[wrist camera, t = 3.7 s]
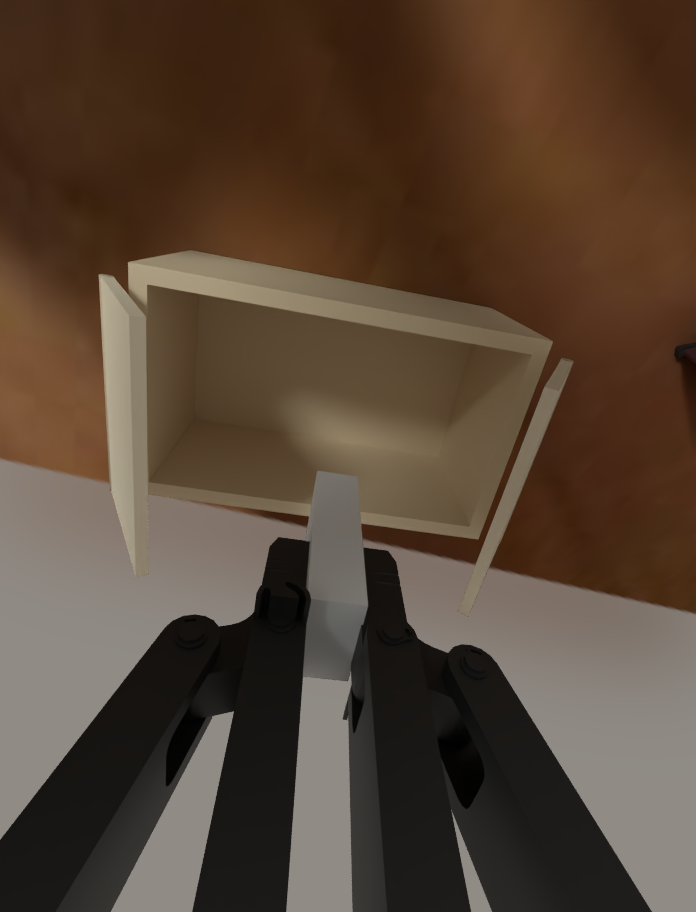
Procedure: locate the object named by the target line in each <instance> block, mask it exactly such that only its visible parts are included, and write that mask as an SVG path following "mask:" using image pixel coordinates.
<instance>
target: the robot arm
mask: <svg viewBox="0 0 696 912" xmlns="http://www.w3.org/2000/svg"><path fill="white" fill-rule="evenodd" d="M350 672H351V677H352V678H351V679H352V686H351V689H350V693H349V697H348V700H347V704H346V707H345V711H344V716H343V719H344V720H347V718H348V721H349V765H350V808H351V809H350V812H351V852H352V853H351V855H352V902H353V912H471V909H470V904H469V899H468V894H467V889H466V883H465V878H464V873H463V868H462V863H461V858H460V853H459V848H458V843H457V837H456V832H455V827H454V822H453V817H452V812H453V815H454V817H455V819H456V822H457V825H458V827H459V829H460V832H461V835H462V837H463V840H464V842H465V845H466V847H467V850H468V852H469V855H470V857H471V860H472V862H473V865H474V867H475V870H476V872H477V875H478V877H479V880H480V882H481V884H482V887H483V890H484V892H485V895H486V897H487V900H488V902H489V905H490V907H491V910H492V912H652V911H651V910H650V908H649V907H648V905H647V903H646V902H645V900H644V899H643V897H642V895H641V894H640V892H639V891H638V889H637V888H636V886H635V884H634V883H633V881H632V879H631V878H630V876H629V874H628V873H627V871H626V870H625V868H624V867H623V865H622V863H621V862H620V860H619V859H618V857H617V855H616V854H615V852H614V851H613V849H612V847H611V846H610V844H609V842H608V841H607V839H606V838H605V836H604V835H603V833H602V831H601V830H600V828H599V826H598V825H597V823H596V822H595V820H594V818H593V817H592V815H591V814H590V812H589V810H588V809H587V807H586V806H585V804H584V802H583V801H582V799H581V798H580V796H579V794H578V793H577V791H576V790H575V788H574V786H573V785H572V783H571V781H570V780H569V778H568V777H567V775H566V774H565V772H564V770H563V769H562V767H561V765H560V764H559V762H558V761H557V759H556V757H555V756H554V754H553V753H552V751H551V750H550V748H549V746H548V745H547V743H546V741H545V740H544V738H543V737H542V735H541V734H540V732H539V730H538V729H537V727H536V725H535V724H534V723H533V721H532V719H531V717H530V716H529V714H528V713H527V711H526V709H525V708H524V706H523V705H522V703H521V701H520V700H519V698H518V696H517V695H516V693H515V692H514V690H513V689H512V687H511V685H510V684H509V682H508V681H507V679H506V677H505V676H504V674H503V672H502V671H501V669H500V668H499V666H498V664H497V663H496V662H495V661H494V660H493V658H492V657H491V656H490V655H489V654H487V653H486V652H484V651H483V650H482V649H480V648H477V647H474V646H472V645H458V646H455V647H453V649H451V651H450V652H449V653H446V652H444V651H441V650H438V649H436V648H434V647H431V646H429V645H427V644H425V643H424V642H422V641H421V640H419V639H418V638H417V635H416V633H415V631H414V629H413V628H412V627H411V626H410V625H409V624H408V623H407V619H406V614H405V608H404V603H403V597H402V592H401V587H400V580H399V576H398V569H397V565H396V561H395V560H394V558H393V557H392V556H391V554H390V553H389V552H388V551H385V550H378V549H370V548H363V540H362V528H361V516H360V504H359V492H358V481H357V476H351V475H344V474H337V473H331V472H324V471H317V475H316V480H315V486H314V492H313V498H312V503H311V509H310V515H309V521H308V526H307V533H306V541H303V540H295V539H288V538H280V537H278V538H277V540H275V542H274V543H273V544H272V545H271V546H270V548H269V553H268V558H267V562H266V567H265V572H264V577H263V582H262V585H261V586H260V588H259V590H258V592H257V595H256V602H255V610H254V613H253V614H252V615H251V616H250V617H248V618H247V619H246V620H244V621H242V622H239V623H236V624H232V625H227V626H220V627H219V626H218V625H217V624H216V623H215V622H214V620H212V619H210V618H208V617H206V616H201V615H188V616H182V617H180V618H178V619H176V620H173V621H172V622H171V623H170V624H169V625H167V626H166V627H165V628H164V630H163V631H162V632H161V633H160V635H159V636H158V637H157V639H156V640H155V641H154V643H153V644H152V645H151V646H150V648H149V649H148V650H147V652H146V653H145V654H144V655H143V657H142V658H141V659H140V661H139V662H138V663H137V665H136V666H135V667H134V668H133V670H132V671H131V672H130V673H129V675H128V676H127V677H126V679H125V680H124V681H123V682H122V684H121V685H120V687H119V688H118V689H117V690H116V691H115V693H114V694H113V695H112V697H111V698H110V699H109V700H108V702H107V703H106V704H105V706H104V707H103V708H102V710H101V711H100V712H99V713H98V715H97V716H96V717H95V719H94V720H93V721H92V722H91V724H90V725H89V726H88V728H87V729H86V730H85V731H84V733H83V734H82V735H81V737H80V738H79V739H78V740H77V742H76V743H75V744H74V746H73V747H72V748H71V749H70V751H69V752H68V753H67V755H66V756H65V757H64V758H63V760H62V761H61V762H60V764H59V765H58V766H57V768H56V769H55V770H54V771H53V773H52V774H51V775H50V776H49V778H48V779H47V780H46V782H45V783H44V784H43V785H42V787H41V788H40V789H39V791H38V792H37V793H36V795H35V796H34V797H33V798H32V800H31V801H30V802H29V804H28V805H27V806H26V807H25V809H24V810H23V811H22V813H21V814H20V815H19V816H18V818H17V819H16V820H15V822H14V823H13V824H12V825H11V827H10V828H9V830H8V831H7V832H6V833H5V834H4V836H3V837H2V838H1V840H0V912H111V910H112V908H113V906H114V904H115V902H116V900H117V898H118V896H119V895H120V893H121V891H122V889H123V887H124V885H125V883H126V881H127V879H128V877H129V875H130V873H131V871H132V870H133V868H134V866H135V864H136V862H137V860H138V858H139V856H140V855H141V853H142V851H143V849H144V847H145V845H146V843H147V841H148V839H149V837H150V835H151V833H152V832H153V830H154V828H155V826H156V824H157V822H158V820H159V818H160V816H161V814H162V813H163V811H164V809H165V807H166V805H167V803H168V801H169V799H170V797H171V795H172V793H173V792H174V790H175V788H176V786H177V784H178V782H179V780H180V778H181V776H182V774H183V772H184V771H185V769H186V767H187V765H188V763H189V761H190V759H191V757H192V755H193V753H194V752H195V750H196V748H197V746H198V744H199V742H200V740H201V738H202V736H203V734H204V732H205V730H206V729H207V727H208V725H209V723H210V721H211V719H212V716H214V715H219V714H223V713H228V712H232V711H234V714H233V719H232V724H231V729H230V733H229V739H228V743H227V748H226V752H225V757H224V763H223V767H222V772H221V777H220V781H219V786H218V791H217V796H216V801H215V805H214V811H213V815H212V820H211V825H210V829H209V834H208V839H207V844H206V849H205V854H204V858H203V864H202V868H201V873H200V878H199V882H198V887H197V892H196V897H195V901H194V906H193V912H286V904H287V891H288V877H289V863H290V849H291V835H292V820H293V807H294V793H295V779H296V764H297V750H298V736H299V723H300V707H301V695H302V694H301V693H302V681H303V680H302V679H303V677H312V678H322V679H331V680H341V681H348V679H349V676H350ZM451 810H452V812H451Z"/></svg>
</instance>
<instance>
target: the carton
mask: <svg viewBox="0 0 696 912" xmlns="http://www.w3.org/2000/svg"><path fill="white" fill-rule="evenodd" d="M128 281H129V297H130V298H131V299H132V300H133V301H134V303H135V304H136V305H137V306H138V308H139V309H140V310H141V311H142V313H143V314H144V315H145V316H146V374H147V468H148V494H149V495H156V496H163V497H171V498H178V499H185V500H193V501H200V502H207V503H215V504H222V505H229V506H236V507H244V508H251V509H258V510H266V511H273V512H280V513H288V514H295V515H302V516H309V515H310V509H311V503H312V498H313V492H314V486H315V480H316V475H317V471H324V472H331V473H337V474H344V475H351V476H357V481H358V492H359V504H360V516H361V524H368V525H375V526H383V527H390V528H397V529H405V530H412V531H419V532H427V533H434V534H441V535H449V536H456V537H463V538H471V539H479V536H480V534H481V531H482V528H483V526H484V523H485V521H486V518H487V515H488V513H489V510H490V507H491V505H492V502H493V499H494V497H495V494H496V491H497V489H498V486H499V484H500V481H501V478H502V476H503V473H504V470H505V468H506V465H507V462H508V460H509V457H510V454H511V452H512V449H513V447H514V444H515V441H516V439H517V436H518V433H519V431H520V428H521V425H522V423H523V420H524V417H525V415H526V412H527V410H528V407H529V404H530V402H531V399H532V396H533V394H534V391H535V388H536V386H537V383H538V380H539V378H540V375H541V373H542V370H543V367H544V365H545V362H546V359H547V357H548V354H549V351H550V349H551V346H552V343H553V341H551V340H550V339H548V338H546V337H544V336H542V335H540V334H539V333H537V332H535V331H533V330H531V329H529V328H527V327H526V326H524V325H522V324H520V323H518V322H516V321H514V320H513V319H511V318H509V317H507V316H505V315H503V314H502V313H500V312H498V311H496V310H494V309H492V308H489V307H484V306H479V305H474V304H469V303H463V302H458V301H453V300H448V299H443V298H437V297H432V296H427V295H422V294H416V293H411V292H406V291H401V290H396V289H390V288H385V287H380V286H375V285H370V284H364V283H359V282H354V281H349V280H344V279H338V278H333V277H328V276H323V275H318V274H312V273H307V272H302V271H297V270H292V269H286V268H281V267H276V266H271V265H266V264H260V263H255V262H250V261H245V260H240V259H234V258H229V257H224V256H219V255H213V254H208V253H203V252H198V251H193V250H189V251H183V252H178V253H173V254H168V255H162V256H157V257H152V258H146V259H141V260H136V261H131V262H128Z"/></svg>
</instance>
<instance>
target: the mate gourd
mask: <svg viewBox="0 0 696 912" xmlns="http://www.w3.org/2000/svg"><path fill="white" fill-rule="evenodd" d="M674 355H675V357H677V358H686V357H688V358H689V359H690V360H691V361H692V362H694V363H695V364H696V343H691V344H685V345H681V346H677V347H676V348H675V354H674Z"/></svg>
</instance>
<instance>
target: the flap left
mask: <svg viewBox="0 0 696 912" xmlns="http://www.w3.org/2000/svg"><path fill="white" fill-rule="evenodd" d="M99 291H100V310H101V329H102V348H103V367H104V386H105V405H106V424H107V443H108V462H109V481H110V491H112V495H113V498H114V502H115V505H116V509H117V513H118V516H119V519H120V523H121V527H122V530H123V534H124V537H125V541H126V544H127V548H128V551H129V555H130V559H131V562H132V566H133V569H134V573H135V576H136V577H140V576H144V575H148V574H149V568H148V567H149V564H148V468H147V374H146V316H145V315H144V314H143V313H142V311H141V310H140V309H139V308H138V306H137V305H136V304H135V303H134V301H133V300H132V299H131V298H130V297H129V295H128V294H127V293H126V292H125V290H124V289H123V288H122V287H121V285H120V284H119V283H118V282H117V280H116V279H115V278H114V276H112V275H107V274H99Z"/></svg>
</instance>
